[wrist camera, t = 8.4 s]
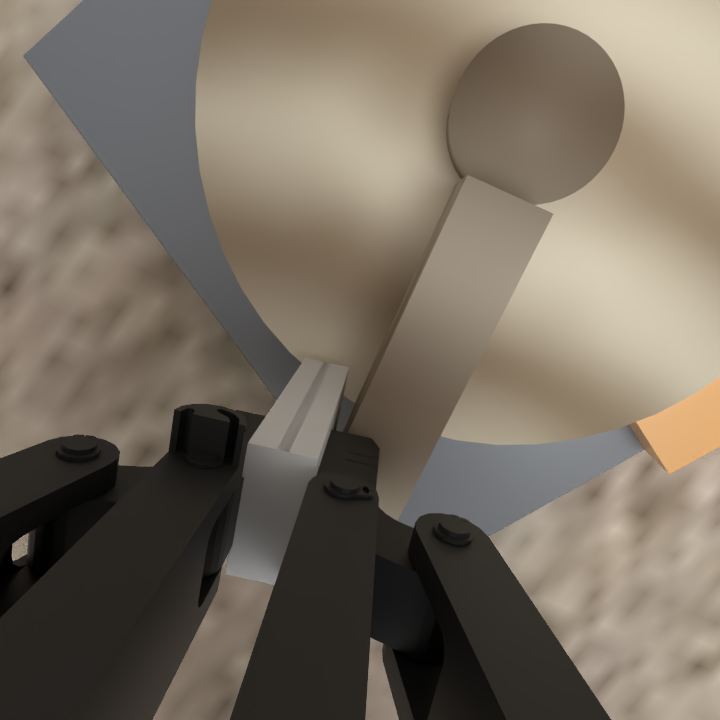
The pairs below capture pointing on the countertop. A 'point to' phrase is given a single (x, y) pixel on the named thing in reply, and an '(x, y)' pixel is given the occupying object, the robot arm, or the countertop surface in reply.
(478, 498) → the dial base
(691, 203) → the beige rotary knob
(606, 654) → the countertop surface
